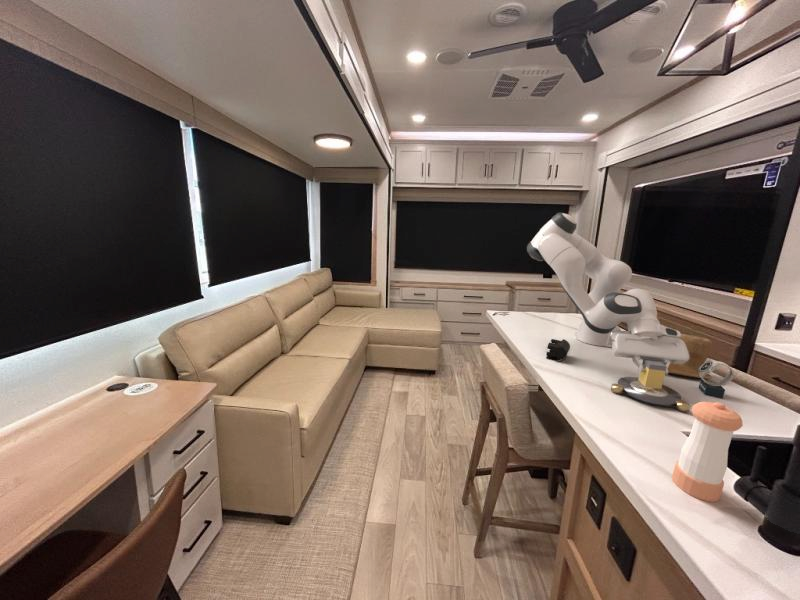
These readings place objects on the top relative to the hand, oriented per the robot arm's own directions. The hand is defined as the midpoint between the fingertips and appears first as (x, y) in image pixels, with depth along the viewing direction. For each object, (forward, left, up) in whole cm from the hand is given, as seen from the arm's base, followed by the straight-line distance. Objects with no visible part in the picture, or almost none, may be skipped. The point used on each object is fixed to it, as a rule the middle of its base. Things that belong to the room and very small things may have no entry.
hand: (653, 372), depth 97 cm
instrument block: (0, 0, -4) cm, 4 cm away
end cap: (+2, -32, -8) cm, 34 cm away
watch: (-22, +7, -8) cm, 25 cm away
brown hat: (-31, -5, -8) cm, 33 cm away
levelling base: (0, +1, -8) cm, 8 cm away
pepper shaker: (+32, +26, -8) cm, 41 cm away
